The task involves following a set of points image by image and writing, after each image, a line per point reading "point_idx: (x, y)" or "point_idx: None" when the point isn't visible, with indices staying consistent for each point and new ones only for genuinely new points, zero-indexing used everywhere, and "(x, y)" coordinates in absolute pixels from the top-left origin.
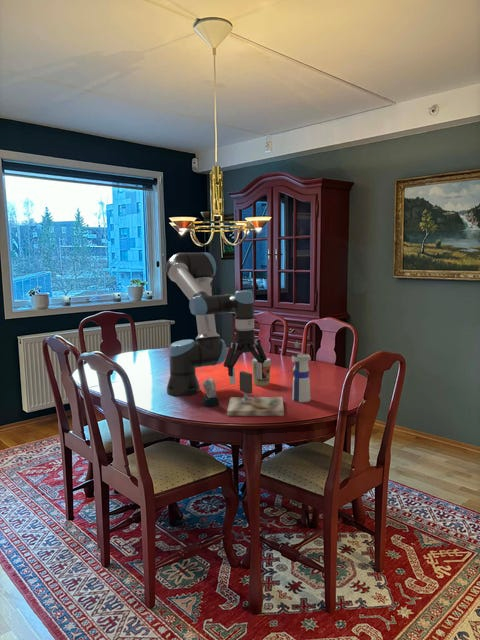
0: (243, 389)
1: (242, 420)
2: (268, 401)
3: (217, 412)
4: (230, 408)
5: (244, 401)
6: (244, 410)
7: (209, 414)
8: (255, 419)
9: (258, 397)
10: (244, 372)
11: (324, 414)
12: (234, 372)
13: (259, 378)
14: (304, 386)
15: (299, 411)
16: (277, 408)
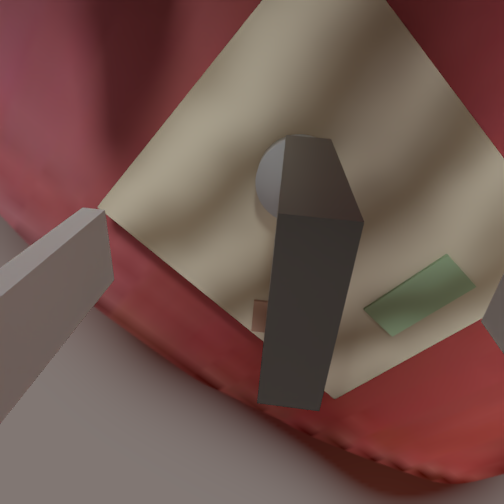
0: (278, 203)
1: (140, 297)
2: (425, 261)
3: (87, 100)
4: (136, 189)
5: (261, 200)
6: (184, 274)
7: (25, 94)
8: (198, 327)
9: (475, 142)
10: (304, 303)
11: (458, 464)
12: (19, 383)
13: (489, 307)
14: None
15: (433, 392)
16: (342, 365)
